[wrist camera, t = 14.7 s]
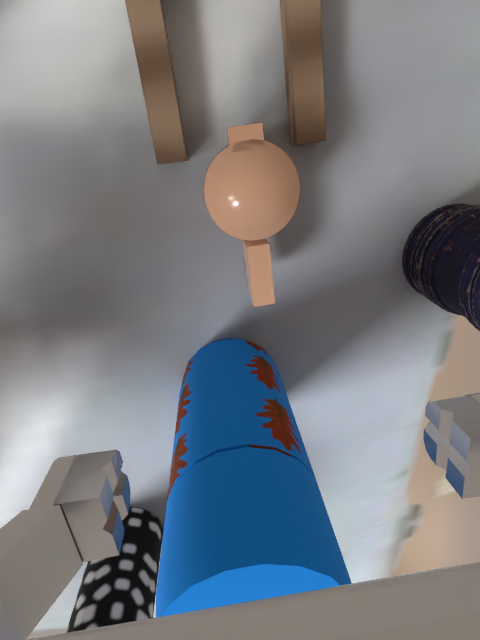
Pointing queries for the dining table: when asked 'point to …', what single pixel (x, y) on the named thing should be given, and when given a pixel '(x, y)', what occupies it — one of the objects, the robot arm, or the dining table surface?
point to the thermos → (241, 491)
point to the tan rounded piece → (252, 200)
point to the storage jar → (447, 259)
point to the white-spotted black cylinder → (122, 578)
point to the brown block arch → (300, 74)
